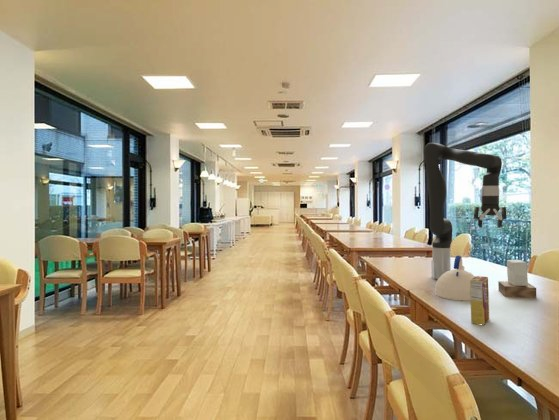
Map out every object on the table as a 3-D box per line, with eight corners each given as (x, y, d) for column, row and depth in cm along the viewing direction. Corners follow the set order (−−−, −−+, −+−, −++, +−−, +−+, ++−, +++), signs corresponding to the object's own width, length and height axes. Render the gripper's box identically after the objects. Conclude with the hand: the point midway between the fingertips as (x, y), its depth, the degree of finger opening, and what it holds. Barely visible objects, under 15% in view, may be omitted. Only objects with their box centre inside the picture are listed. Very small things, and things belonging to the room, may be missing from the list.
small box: (528, 286, 168) (527, 262, 168) (514, 286, 169) (512, 262, 169) (521, 282, 176) (519, 259, 176) (507, 282, 177) (506, 259, 177)
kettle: (485, 293, 177) (485, 254, 176) (482, 303, 159) (482, 260, 158) (438, 288, 187) (438, 251, 187) (431, 297, 169) (430, 257, 169)
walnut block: (504, 297, 169) (504, 286, 169) (498, 291, 180) (498, 281, 180) (536, 299, 165) (536, 287, 165) (527, 293, 177) (527, 282, 177)
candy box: (476, 317, 139) (476, 275, 139) (489, 319, 136) (489, 276, 136) (469, 323, 132) (469, 279, 132) (483, 325, 129) (483, 280, 129)
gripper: (502, 195, 192) (501, 227, 193) (472, 195, 195) (471, 226, 195) (509, 195, 185) (508, 228, 185) (477, 194, 187) (477, 228, 188)
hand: (489, 227), depth 190 cm, fingers open, 8 cm apart
